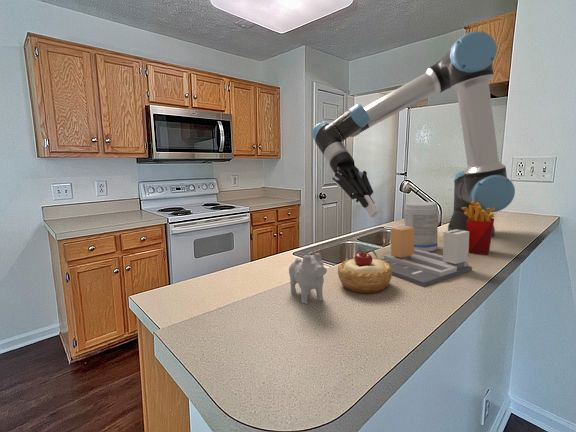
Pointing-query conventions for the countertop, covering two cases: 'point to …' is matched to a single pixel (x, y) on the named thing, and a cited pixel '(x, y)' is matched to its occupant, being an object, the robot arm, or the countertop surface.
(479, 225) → the french fries
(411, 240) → the fader knob
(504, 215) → the countertop surface
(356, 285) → the pastry
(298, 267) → the dog figurine
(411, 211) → the supplement tub
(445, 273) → the console board
